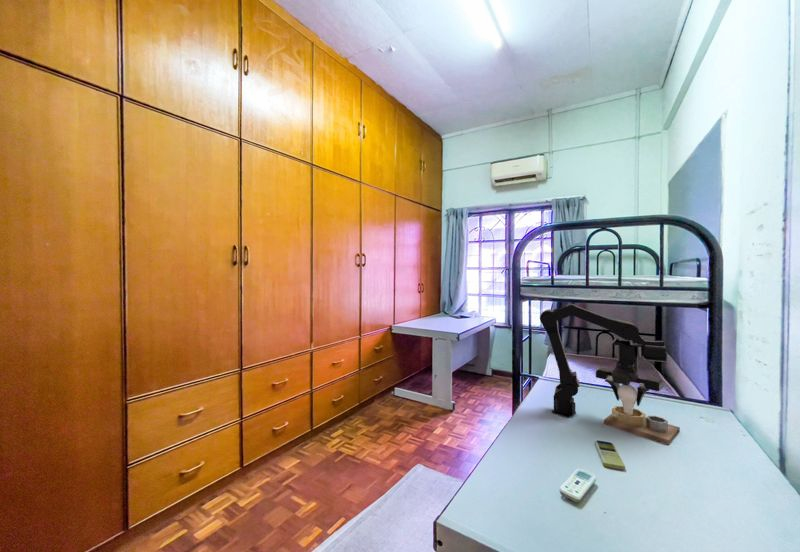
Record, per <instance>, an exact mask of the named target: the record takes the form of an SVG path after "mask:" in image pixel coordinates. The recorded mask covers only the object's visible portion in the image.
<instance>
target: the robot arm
mask: <svg viewBox="0 0 800 552" xmlns="http://www.w3.org/2000/svg"><path fill="white" fill-rule="evenodd" d="M568 317H574V318H577V319H581V320H584V321H586V322H587V323H591V324H593V325H597V326H599V327H601V328H604V329H606V330H608V331H609V332H611V333H613V334H614V335H616V336H617V337H615V338H614V339H613V340H612V341H611V342H610V343H611V344H612V346H617V361H616V366H615V368H614V369H613V368H607V367H600V368H598V369H596V371H595V378H597V379H602V380H604V382H606V383H608V385H610V387H611V389H612V392H613V394H614V396H615V398H616V401H620V400H621V399H620V397H619V395H618V392H617V390H618V388H619V386H621V385H629V384H630V385H631V383H634V384H635V383H636V384H638V385H639V386H637V388H636V389H637V390H638V394H637V401H636V406H637V407H639V406H640V405H641V403H642V401H643V398H644V397H645V395H646V393H647V392H649V391H655V392H660V391H661V390H663V389H664V388H665V387H664V384H665V383H664V381H663V379H661V378H657V377H653V376H648V377H646V378H641V377H639V376H640V374H639V364H640V363H639V357H641V358H643V360H644V361H649V362H650V361H652V362H662V363H663V362H664V363H666V362H667V358H668V353H667V351H666V350H667V349H666V346H665V342H664V341H663V340H645V338H643V337H642V336H640V331H639V329H638V327H637V326H636V324H634V323H632V322H630V321H627V320H622V319H617V318H611V317H607V316H604V315H602V314H599V313H598V312H594V311H591V310H588V309H585V308H583V307H580V306H578V305H576V304H574V303H568V304H567V305H564V306H560V307H557V308H555V309H548V308H547V309H545V310H543V311H542V313H541V314H540V315H539V322H540V323H541V325H542V327H543V329H544V330H545V331H546V334H547V335H548V336H547V337H548V339H549V341H550V344H551V348H552V351H553V355H554V358H555V362H556V365H557V367H558V368H557V369H558V374H559V383H558V384H557V385H556V386H555V390H554V395H553V409H552V410H551V413H553V414H556V415H559V416H562V417H564V418H571V417H572V416H574V415H576V414H577V411H576V402H575V398H574V397H575V396H576V395H577V394H578V393H579V388H580V380H579V378H578V376H577V375H578V373H577V371H572V369H571V367H570V364H569V361H568V357H567V354H566V351H565V347H564V346H563V345H564V344H563V342H562V338H561V335H560V332H559V330H560V329H559V321H561V320H564V319H566V318H568ZM618 337H619V338H622V339H619V338H618ZM631 341H632V342H633V343H632V342H631ZM638 352H639V353H638ZM620 384H621V385H620Z"/></svg>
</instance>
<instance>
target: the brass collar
mask: <svg viewBox="0 0 800 552" xmlns="http://www.w3.org/2000/svg"><path fill="white" fill-rule="evenodd" d="M611 414H612V417H613V418H614V419H615V420H616V421H617V422H620V423H623V424H627V425H630V426H643V425H644V424H645V423H646V417H647V416H646V413H645V412H643V411H642V410H640V409H638V408H635V407H634V409H633V415H631V416H629V415H626V414H624V408H623V405H615V406H614V407H612V408H611Z"/></svg>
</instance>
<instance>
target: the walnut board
mask: <svg viewBox="0 0 800 552" xmlns="http://www.w3.org/2000/svg"><path fill="white" fill-rule="evenodd" d="M603 425H605V426H609V427H610V428H615V429H617V430H620V431H624V432H626V433H631V434H633V435H636V436H640V437H642V438H646V439H648V440H650V441H651V440H652V441H655V442H659V443H662V444H665V445H668V446H670V445H671V443H672V442H673V441H674V440H675V438H677V436H678V435H679V433H680V432H681V431H680V430H681V428H680V427H679V426H677V425H673V424H669V423H668V431H667V432H657V431H654V430H650V429H649V428H648V427H646V423H645V424H644V425H643V426H630V425H627V424H623V423H620V422H617V421H616V420H615V419H614V418H613V417H612V413H611V414H610V415H608V416H607V417H605V418H604V419H603Z"/></svg>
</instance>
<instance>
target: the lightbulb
mask: <svg viewBox="0 0 800 552" xmlns="http://www.w3.org/2000/svg"><path fill="white" fill-rule="evenodd" d="M617 392H618V395H619V397H620V399H619V400H621V405H622V406H623V408H624V414H626V415H629V416H631V415H633V409H634V408H635V404H636V403H637V394H638V390H637V388H636V387H635V386H633V384H631V383H630V384H629V385H623V384H621V385H620V386H619V388H618V390H617Z"/></svg>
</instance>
